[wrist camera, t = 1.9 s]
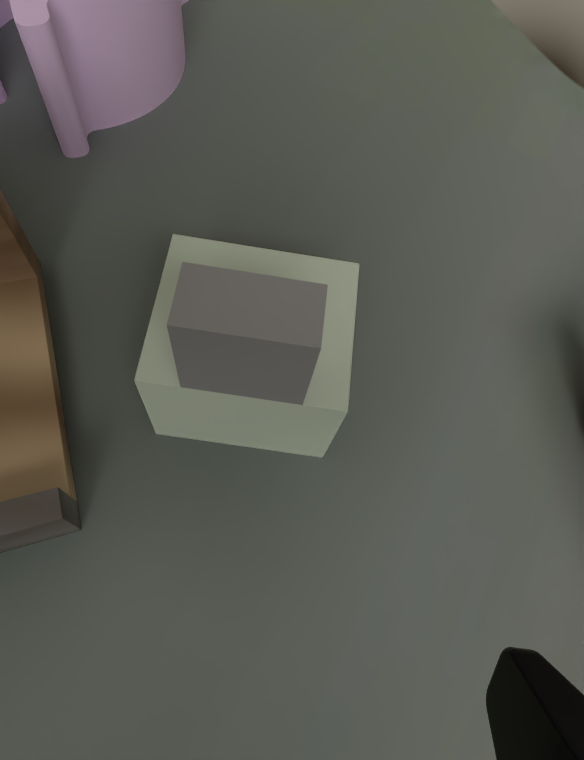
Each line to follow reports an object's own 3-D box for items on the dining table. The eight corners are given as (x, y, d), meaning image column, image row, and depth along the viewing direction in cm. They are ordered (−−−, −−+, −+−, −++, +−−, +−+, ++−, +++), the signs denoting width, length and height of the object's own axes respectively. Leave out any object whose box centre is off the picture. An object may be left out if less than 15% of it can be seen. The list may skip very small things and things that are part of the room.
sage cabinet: (322, 458, 22) (377, 357, 14) (156, 434, 22) (107, 316, 14) (334, 334, 25) (387, 184, 16) (185, 311, 25) (159, 146, 16)
